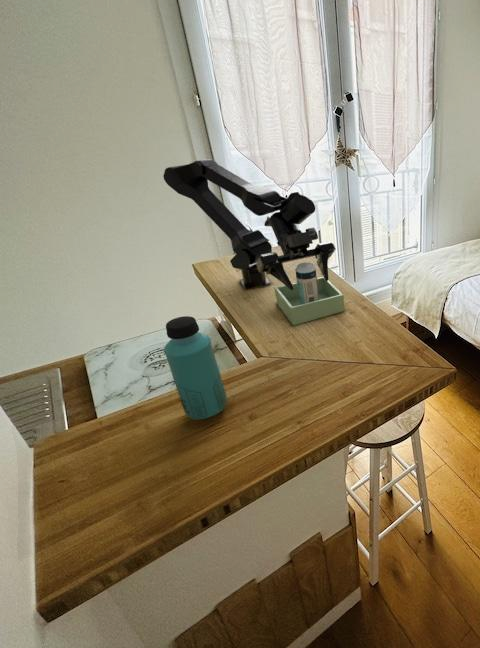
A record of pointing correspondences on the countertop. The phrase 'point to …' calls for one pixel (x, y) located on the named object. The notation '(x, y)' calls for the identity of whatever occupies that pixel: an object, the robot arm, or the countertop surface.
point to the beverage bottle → (194, 369)
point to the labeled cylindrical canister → (307, 283)
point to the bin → (326, 305)
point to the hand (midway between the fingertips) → (310, 284)
